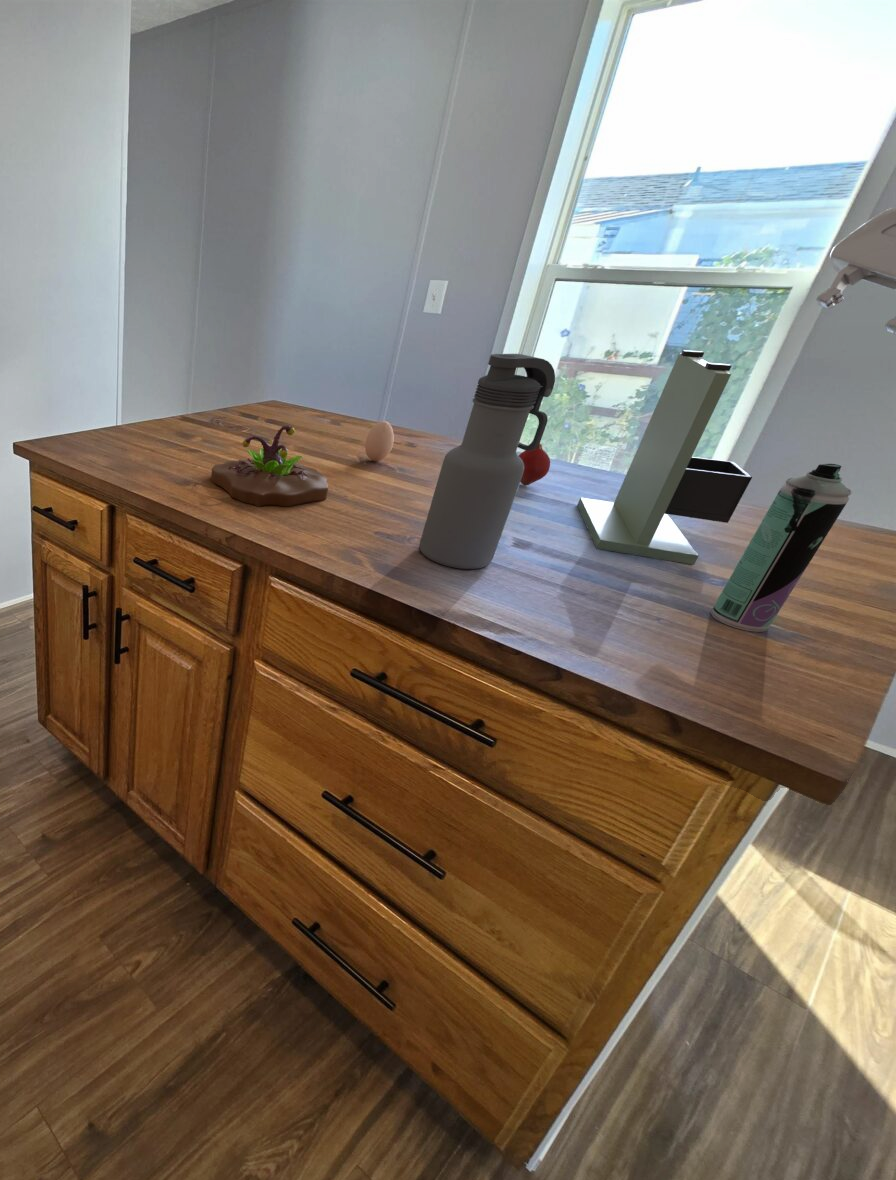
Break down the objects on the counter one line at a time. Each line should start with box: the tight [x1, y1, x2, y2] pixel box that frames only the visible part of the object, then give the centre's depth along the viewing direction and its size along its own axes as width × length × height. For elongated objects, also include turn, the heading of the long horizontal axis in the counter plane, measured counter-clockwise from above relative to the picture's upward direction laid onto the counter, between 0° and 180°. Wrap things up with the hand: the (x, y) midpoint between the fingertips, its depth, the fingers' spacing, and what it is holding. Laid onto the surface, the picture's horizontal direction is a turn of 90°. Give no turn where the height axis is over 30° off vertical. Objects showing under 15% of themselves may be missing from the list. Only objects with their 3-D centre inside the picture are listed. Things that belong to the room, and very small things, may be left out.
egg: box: [364, 420, 395, 462], centre depth 133 cm, size 5×5×8 cm
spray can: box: [710, 463, 853, 633], centre depth 76 cm, size 6×6×20 cm
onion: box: [518, 443, 551, 486], centre depth 122 cm, size 6×6×8 cm
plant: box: [210, 424, 329, 507], centre depth 118 cm, size 20×20×11 cm
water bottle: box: [418, 353, 556, 570], centre depth 89 cm, size 10×10×28 cm
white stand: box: [576, 349, 753, 566], centre depth 98 cm, size 16×20×27 cm
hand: (855, 316), depth 83 cm, fingers open, 8 cm apart
